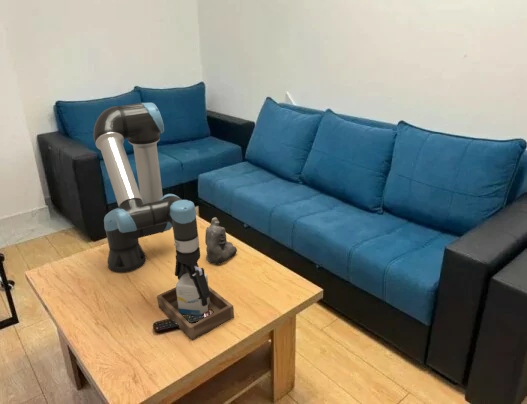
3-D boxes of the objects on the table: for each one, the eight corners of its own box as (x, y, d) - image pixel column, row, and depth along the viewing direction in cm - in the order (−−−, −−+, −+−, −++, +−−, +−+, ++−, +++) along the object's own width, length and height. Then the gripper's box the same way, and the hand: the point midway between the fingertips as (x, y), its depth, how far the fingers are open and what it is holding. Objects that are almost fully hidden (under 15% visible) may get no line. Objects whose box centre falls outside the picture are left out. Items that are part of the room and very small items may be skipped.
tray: (158, 307, 151) (156, 295, 149) (198, 288, 161) (197, 277, 159) (191, 340, 135) (190, 328, 133) (234, 317, 145) (233, 305, 143)
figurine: (235, 249, 186) (232, 211, 179) (240, 263, 176) (237, 223, 169) (204, 253, 184) (200, 215, 176) (208, 268, 173) (204, 228, 166)
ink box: (202, 317, 143) (199, 287, 138) (178, 314, 144) (174, 285, 139) (210, 301, 150) (207, 272, 145) (187, 298, 152) (184, 270, 147)
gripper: (159, 238, 144) (167, 292, 153) (197, 267, 127) (204, 326, 136) (179, 231, 148) (186, 284, 157) (218, 258, 131) (223, 315, 140)
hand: (194, 303), depth 147 cm, fingers closed on ink box, 11 cm apart
